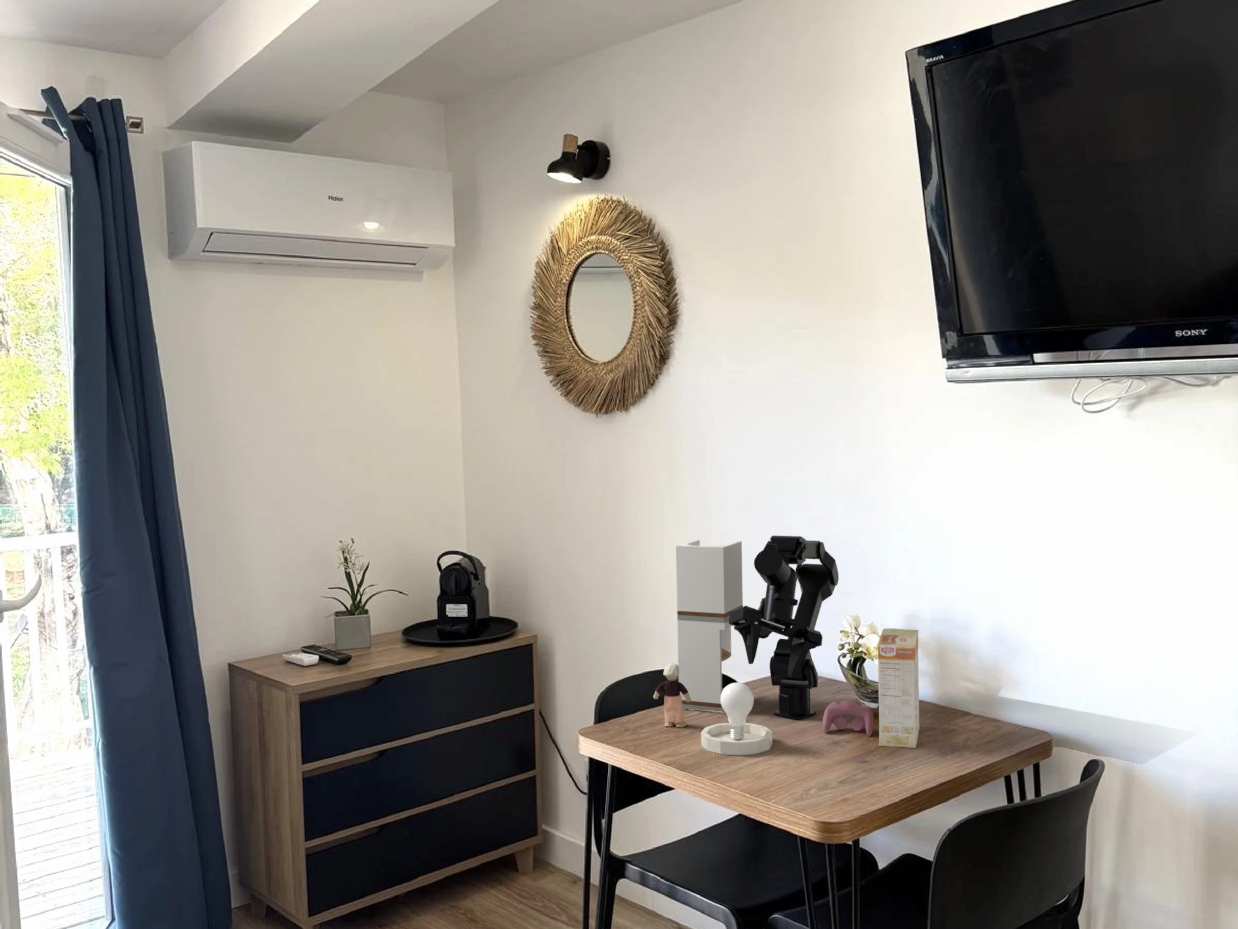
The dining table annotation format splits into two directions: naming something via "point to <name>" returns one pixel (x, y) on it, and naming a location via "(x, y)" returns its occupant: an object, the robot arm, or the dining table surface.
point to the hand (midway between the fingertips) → (770, 670)
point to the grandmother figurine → (672, 696)
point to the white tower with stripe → (706, 617)
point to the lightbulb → (737, 707)
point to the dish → (722, 743)
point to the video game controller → (848, 708)
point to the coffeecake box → (898, 688)
